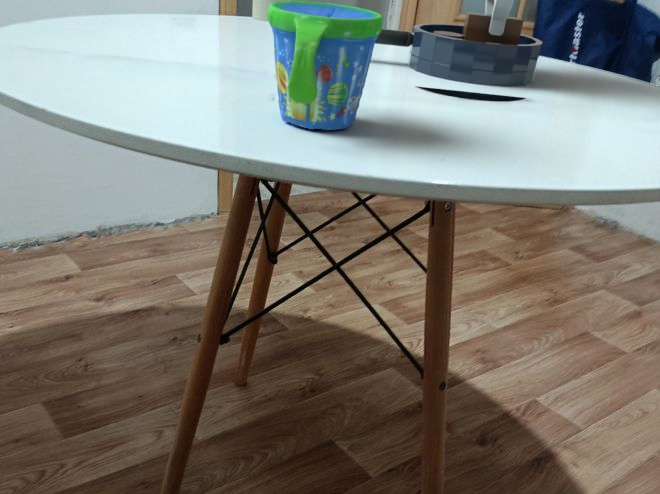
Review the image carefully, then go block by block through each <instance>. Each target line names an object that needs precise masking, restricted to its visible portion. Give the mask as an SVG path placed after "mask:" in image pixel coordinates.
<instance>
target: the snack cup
mask: <svg viewBox="0 0 660 494" xmlns="http://www.w3.org/2000/svg"><path fill="white" fill-rule="evenodd" d="M267 17H268V21H269V22H268V21H267V22H268V23H269V26H270V28H271V30H272V35H273V49H274V50H273V51H274V52H273V53H274V67H275V75H276V77H275V78H276V88H277V96H278V107H279V108H278V109H279V112H280V117H281V120H282V121H283V122H288V121H289V123H290V124H292V125H293V124H295V125H298V126H301V127H306V128H308V129H307V130H314V129H322V130H321V131H332V130H333V131H338V130H346V129H348V128H349V127H350V126H352V125H353V123H354V121H355V119H356V117H357V112H358V109H359V107H360V102H361V98H362V96H363V90H364V88H365V85H366V80H367V77H368V74H369V69H370V66H371V65H370V64H371V61H372V57H373V51H374V48H375V42H376V39H377V38H378V36H379V34H380V33H381V29H383V22H384V21H383V19H384V18H383V17H384V16H383V15H382V14H381V13H379V12H377V11H373V10H371V9H367V8H362V7H358V6H357V7H356V6H352V5H345V4H339V3H331V2H330V3H329V2H320V1H319V2H318V1H307V0H299V1H281V2H274V3H271V4H270V5H269V10H268V14H267ZM295 125H294V126H295ZM298 126H297V127H298ZM301 127H300V128H301Z"/></svg>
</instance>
